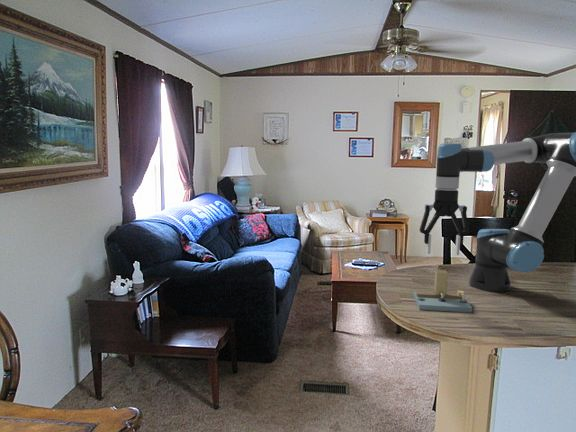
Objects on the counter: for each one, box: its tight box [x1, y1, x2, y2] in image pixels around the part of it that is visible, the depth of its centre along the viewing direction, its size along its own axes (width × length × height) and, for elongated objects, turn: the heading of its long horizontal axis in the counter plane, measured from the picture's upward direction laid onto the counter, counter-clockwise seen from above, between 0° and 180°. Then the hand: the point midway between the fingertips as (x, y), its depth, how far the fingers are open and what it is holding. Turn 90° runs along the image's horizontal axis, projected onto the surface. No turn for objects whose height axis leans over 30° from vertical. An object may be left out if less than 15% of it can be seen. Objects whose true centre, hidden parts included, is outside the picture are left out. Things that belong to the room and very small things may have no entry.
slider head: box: [433, 269, 449, 300], centre depth 160 cm, size 4×6×9 cm, turn 173°
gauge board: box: [412, 290, 473, 313], centre depth 159 cm, size 17×14×4 cm
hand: (442, 253), depth 160 cm, fingers open, 9 cm apart
